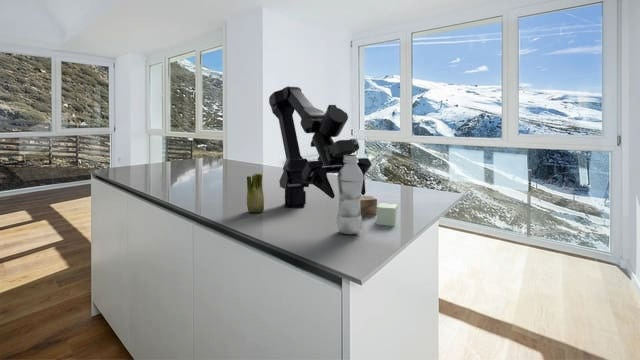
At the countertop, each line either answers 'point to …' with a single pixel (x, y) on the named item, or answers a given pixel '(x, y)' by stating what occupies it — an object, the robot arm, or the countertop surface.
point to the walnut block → (368, 205)
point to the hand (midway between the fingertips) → (349, 195)
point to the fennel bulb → (255, 194)
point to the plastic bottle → (349, 196)
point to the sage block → (386, 214)
